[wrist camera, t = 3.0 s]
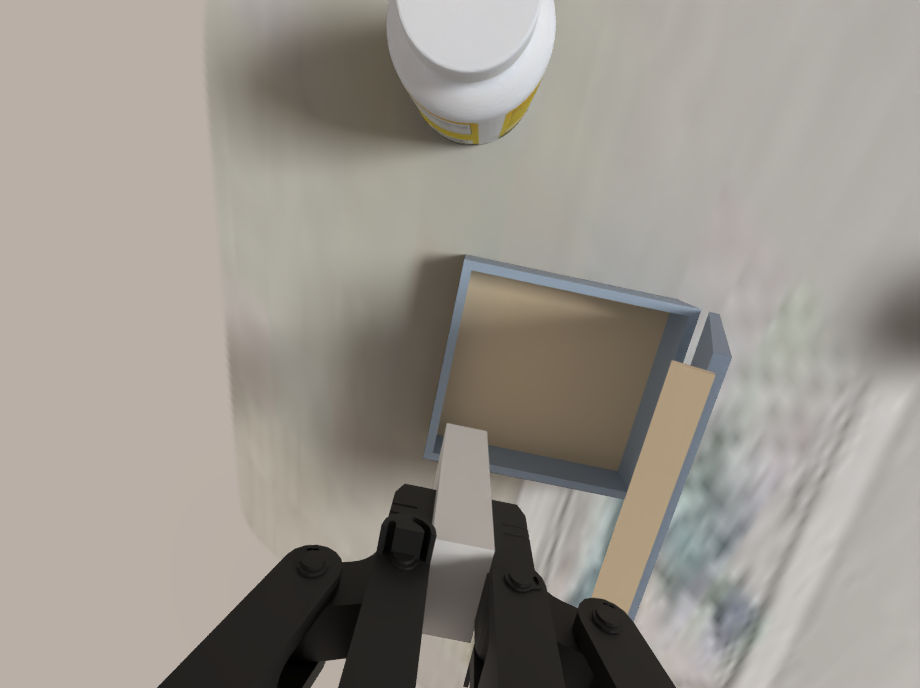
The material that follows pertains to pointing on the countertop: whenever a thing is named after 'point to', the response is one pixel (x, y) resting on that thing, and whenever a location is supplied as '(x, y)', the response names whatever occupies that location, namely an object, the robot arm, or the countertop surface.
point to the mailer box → (557, 373)
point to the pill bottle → (471, 61)
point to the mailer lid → (663, 469)
